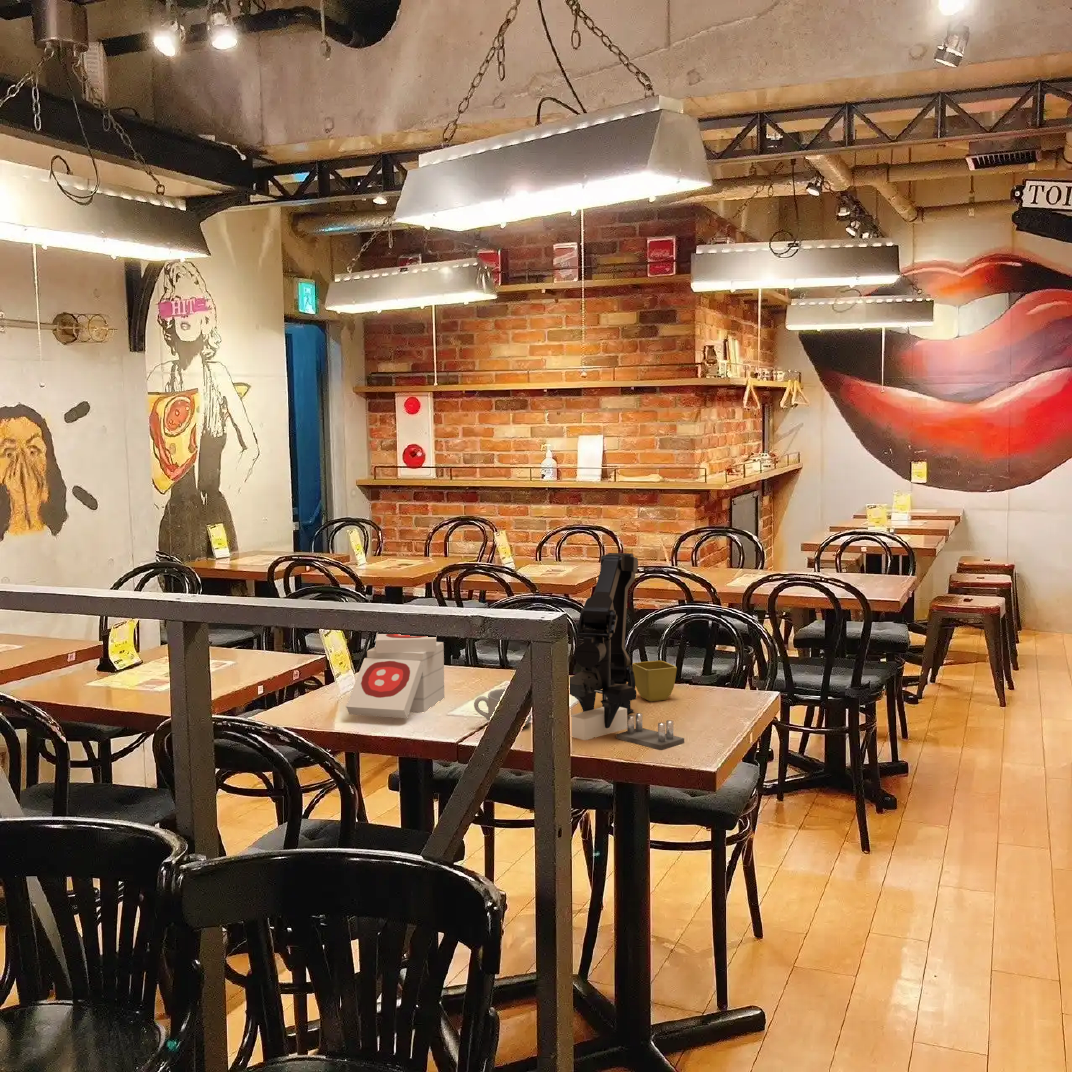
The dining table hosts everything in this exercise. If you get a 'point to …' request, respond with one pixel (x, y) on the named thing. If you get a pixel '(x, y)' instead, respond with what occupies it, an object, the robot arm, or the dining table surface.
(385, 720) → the dining table surface
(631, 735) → the peg stand
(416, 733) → the dining table surface
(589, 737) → the block
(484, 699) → the teacup
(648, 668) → the flower pot
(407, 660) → the stacked boxes
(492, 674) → the dining table surface
